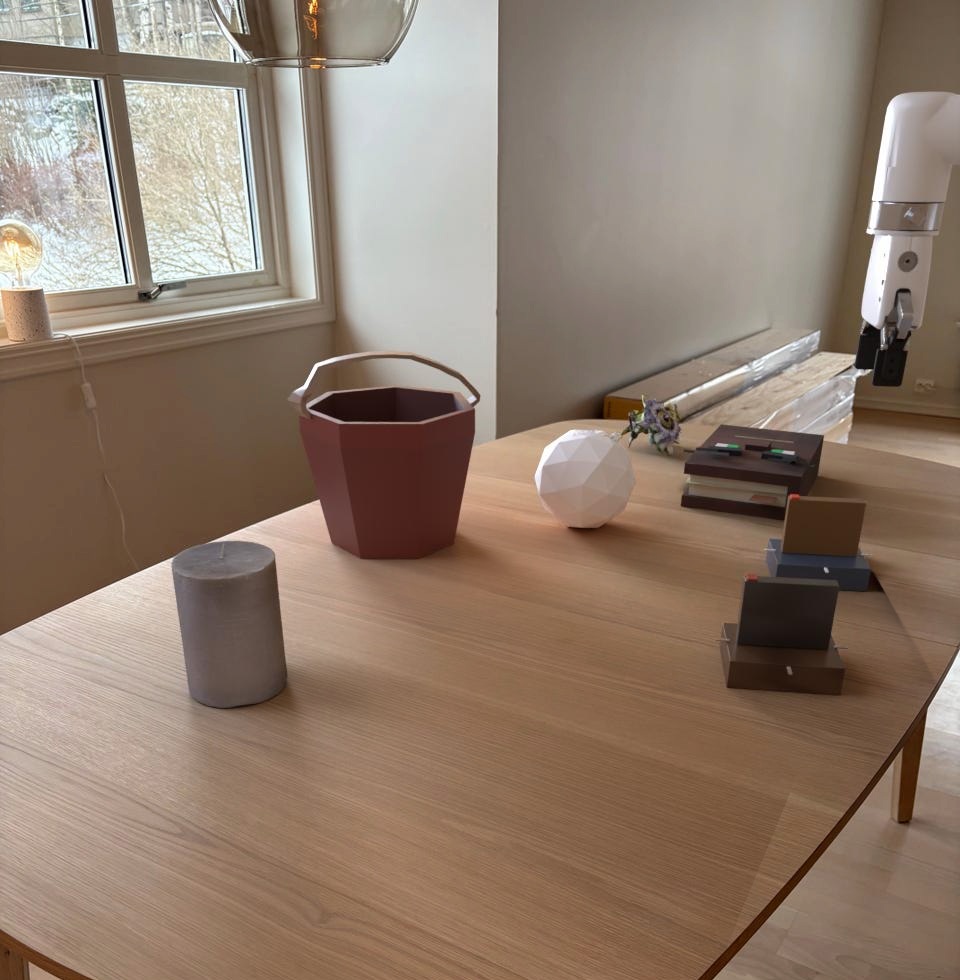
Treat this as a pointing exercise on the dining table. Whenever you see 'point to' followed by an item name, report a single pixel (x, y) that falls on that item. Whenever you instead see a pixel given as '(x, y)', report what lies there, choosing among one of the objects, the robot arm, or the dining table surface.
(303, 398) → the bucket
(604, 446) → the geodesic sphere
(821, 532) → the frame far
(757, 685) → the stand near
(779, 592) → the frame near
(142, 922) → the dining table surface
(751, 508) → the decorative book
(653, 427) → the passion flower
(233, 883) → the dining table surface
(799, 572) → the stand far
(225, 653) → the pillar candle
